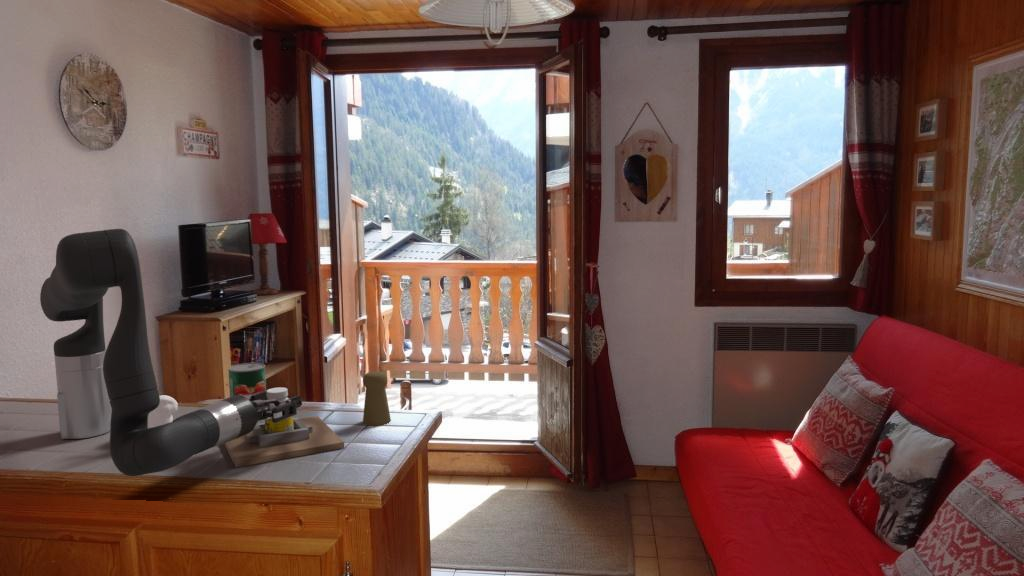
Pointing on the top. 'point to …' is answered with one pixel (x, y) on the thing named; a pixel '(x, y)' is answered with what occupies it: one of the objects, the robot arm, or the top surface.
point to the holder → (283, 442)
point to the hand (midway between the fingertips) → (282, 398)
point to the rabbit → (162, 412)
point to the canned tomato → (247, 379)
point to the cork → (375, 399)
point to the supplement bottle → (277, 394)
